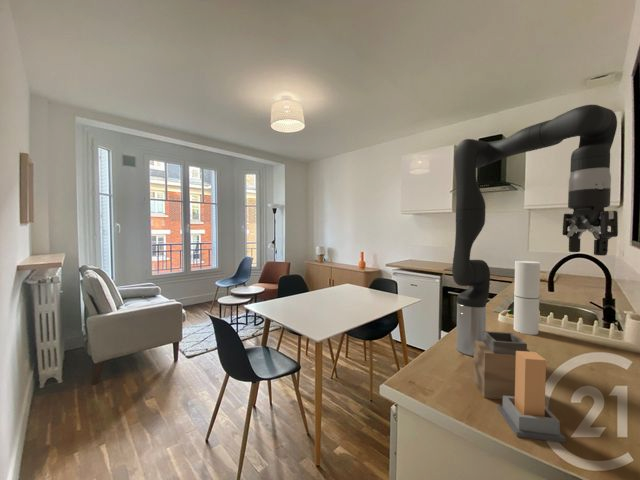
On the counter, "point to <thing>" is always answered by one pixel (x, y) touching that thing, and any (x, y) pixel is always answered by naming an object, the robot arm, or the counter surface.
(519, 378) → the plug
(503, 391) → the square socket base
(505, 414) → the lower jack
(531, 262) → the container
